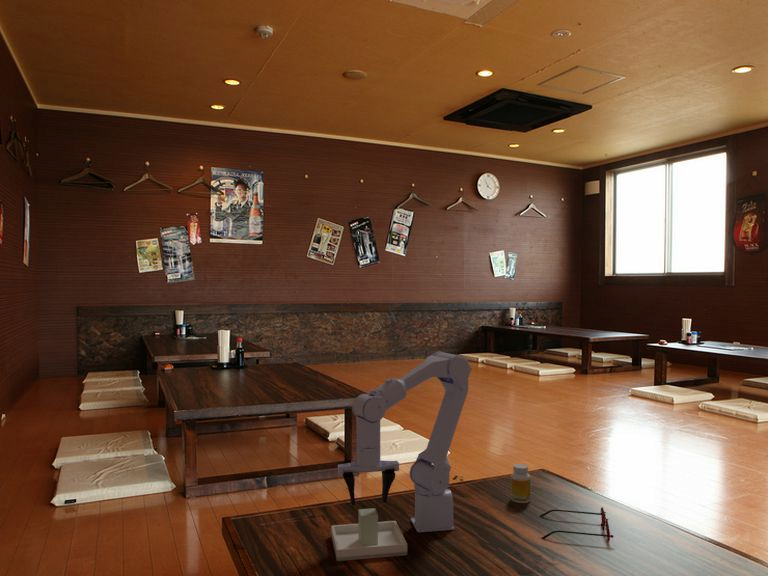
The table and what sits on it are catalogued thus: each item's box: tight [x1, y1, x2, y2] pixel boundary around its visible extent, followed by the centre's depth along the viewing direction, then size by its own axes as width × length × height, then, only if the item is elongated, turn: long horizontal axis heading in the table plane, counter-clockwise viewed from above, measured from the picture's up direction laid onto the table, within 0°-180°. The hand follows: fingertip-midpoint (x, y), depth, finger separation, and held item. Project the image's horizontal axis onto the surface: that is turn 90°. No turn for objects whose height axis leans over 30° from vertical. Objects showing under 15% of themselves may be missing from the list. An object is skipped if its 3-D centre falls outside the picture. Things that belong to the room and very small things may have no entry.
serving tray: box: [330, 520, 408, 562], centre depth 136 cm, size 16×13×2 cm
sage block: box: [357, 507, 379, 546], centre depth 136 cm, size 4×4×7 cm
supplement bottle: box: [510, 463, 531, 504], centre depth 164 cm, size 5×5×10 cm
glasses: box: [538, 506, 615, 543], centre depth 144 cm, size 14×16×5 cm
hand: (368, 502), depth 138 cm, fingers open, 7 cm apart
